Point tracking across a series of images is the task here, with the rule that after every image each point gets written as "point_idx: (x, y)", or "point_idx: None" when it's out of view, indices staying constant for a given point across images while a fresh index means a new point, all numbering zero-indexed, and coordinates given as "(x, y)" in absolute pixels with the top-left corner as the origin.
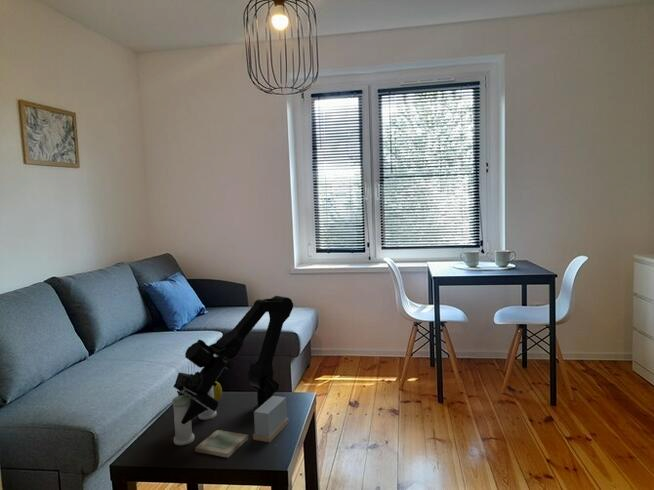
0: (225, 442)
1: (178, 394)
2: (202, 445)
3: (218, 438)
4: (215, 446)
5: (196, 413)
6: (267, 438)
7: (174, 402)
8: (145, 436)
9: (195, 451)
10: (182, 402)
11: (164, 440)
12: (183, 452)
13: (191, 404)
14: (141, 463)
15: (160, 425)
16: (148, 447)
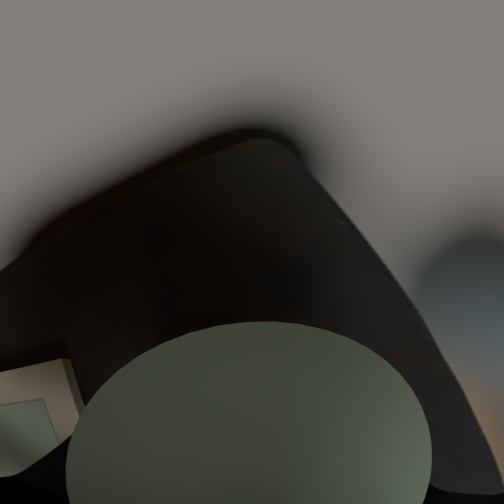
0: (2, 452)
1: (477, 498)
2: (50, 391)
3: None
4: (3, 407)
5: None
6: None
7: (242, 327)
8: (399, 293)
9: (70, 359)
10: (79, 424)
11: None
12: (110, 323)
13: (39, 496)
14: (196, 171)
15: (438, 382)
16: (299, 251)
